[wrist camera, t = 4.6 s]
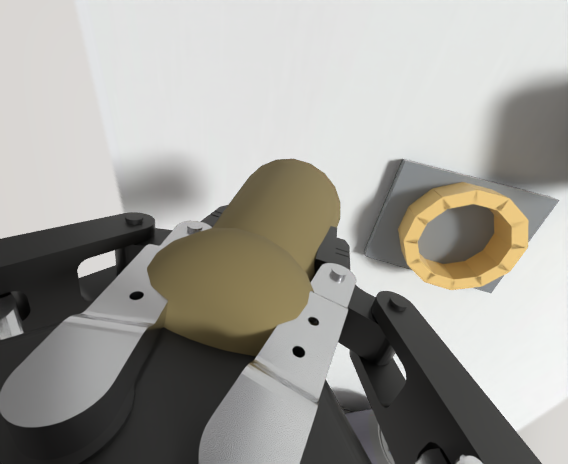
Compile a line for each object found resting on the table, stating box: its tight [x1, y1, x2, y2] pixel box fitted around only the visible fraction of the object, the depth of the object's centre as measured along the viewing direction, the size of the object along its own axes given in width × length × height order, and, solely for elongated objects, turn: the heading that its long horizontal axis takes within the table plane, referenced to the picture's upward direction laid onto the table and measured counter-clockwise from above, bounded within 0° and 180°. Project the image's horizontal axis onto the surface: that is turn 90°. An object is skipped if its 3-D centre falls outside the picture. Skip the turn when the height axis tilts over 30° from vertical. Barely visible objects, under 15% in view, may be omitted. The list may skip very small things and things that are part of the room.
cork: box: [147, 159, 340, 356], centre depth 11 cm, size 6×6×11 cm
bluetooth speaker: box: [343, 409, 395, 464], centre depth 41 cm, size 23×9×10 cm, turn 127°
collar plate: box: [365, 159, 559, 293], centre depth 26 cm, size 11×14×4 cm
